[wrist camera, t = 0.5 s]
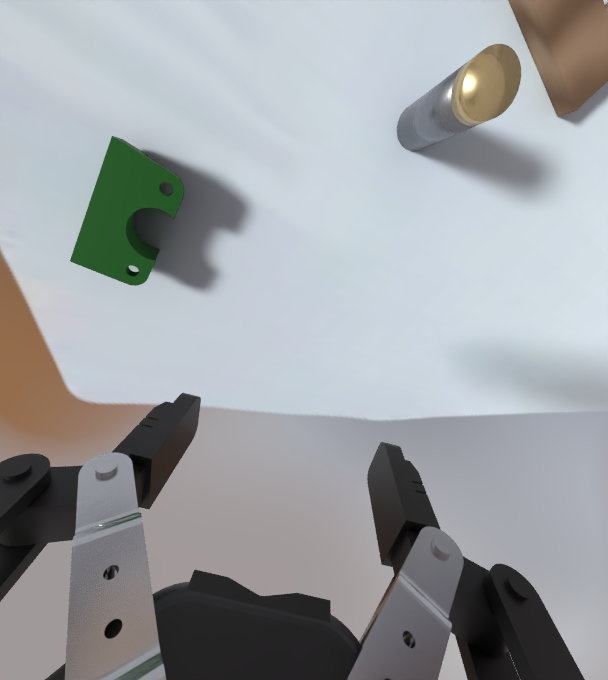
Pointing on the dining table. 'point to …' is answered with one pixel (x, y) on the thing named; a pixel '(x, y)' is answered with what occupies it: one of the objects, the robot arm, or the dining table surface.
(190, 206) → the dining table surface
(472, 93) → the metal pin
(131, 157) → the clamp
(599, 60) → the walnut cap plate
